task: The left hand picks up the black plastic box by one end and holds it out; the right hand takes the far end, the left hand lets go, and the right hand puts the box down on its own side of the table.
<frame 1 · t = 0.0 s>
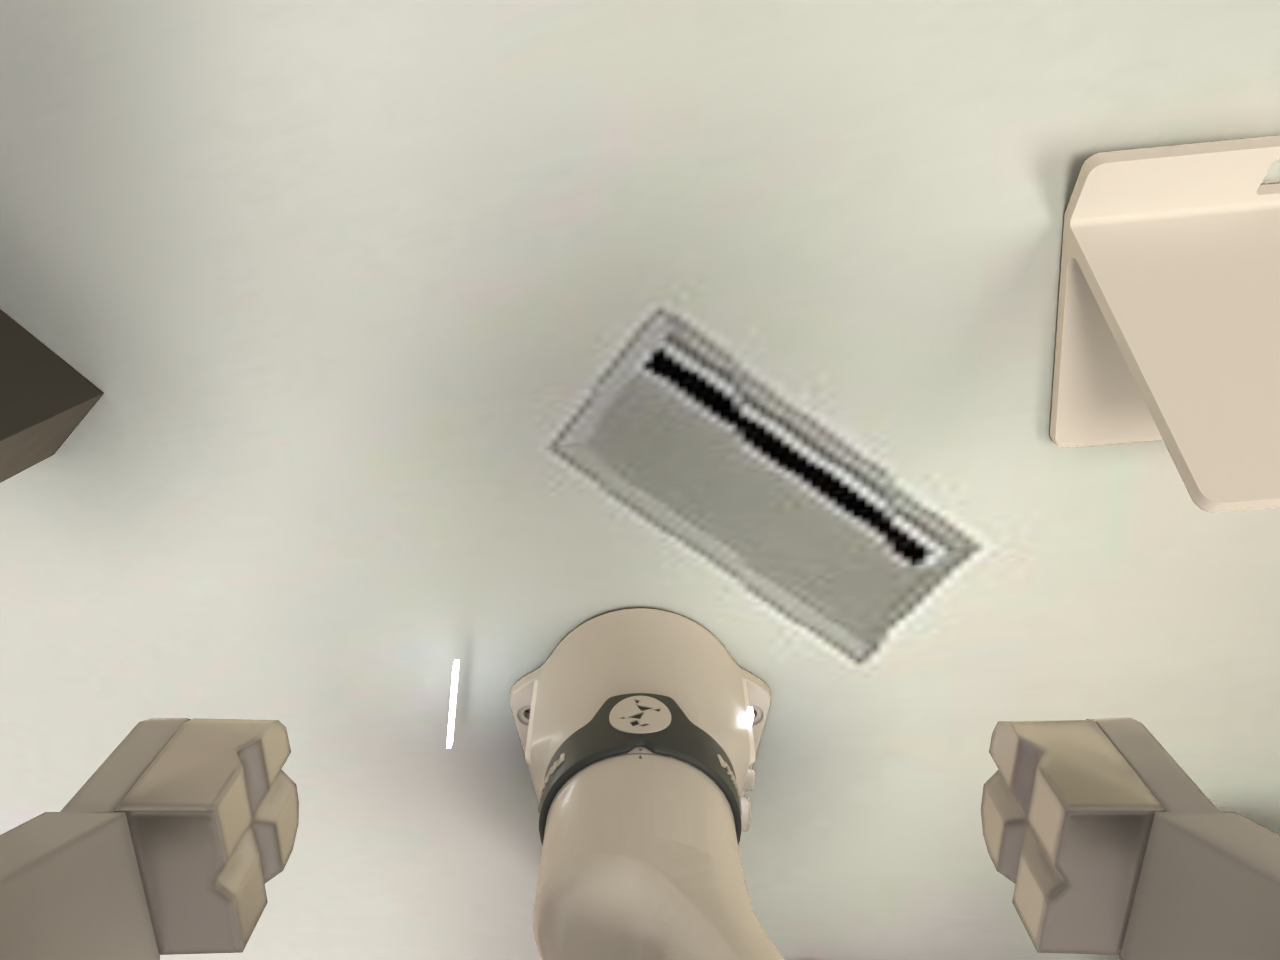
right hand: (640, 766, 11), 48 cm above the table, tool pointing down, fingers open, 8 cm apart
tablet stand: (1261, 288, 56), on the table
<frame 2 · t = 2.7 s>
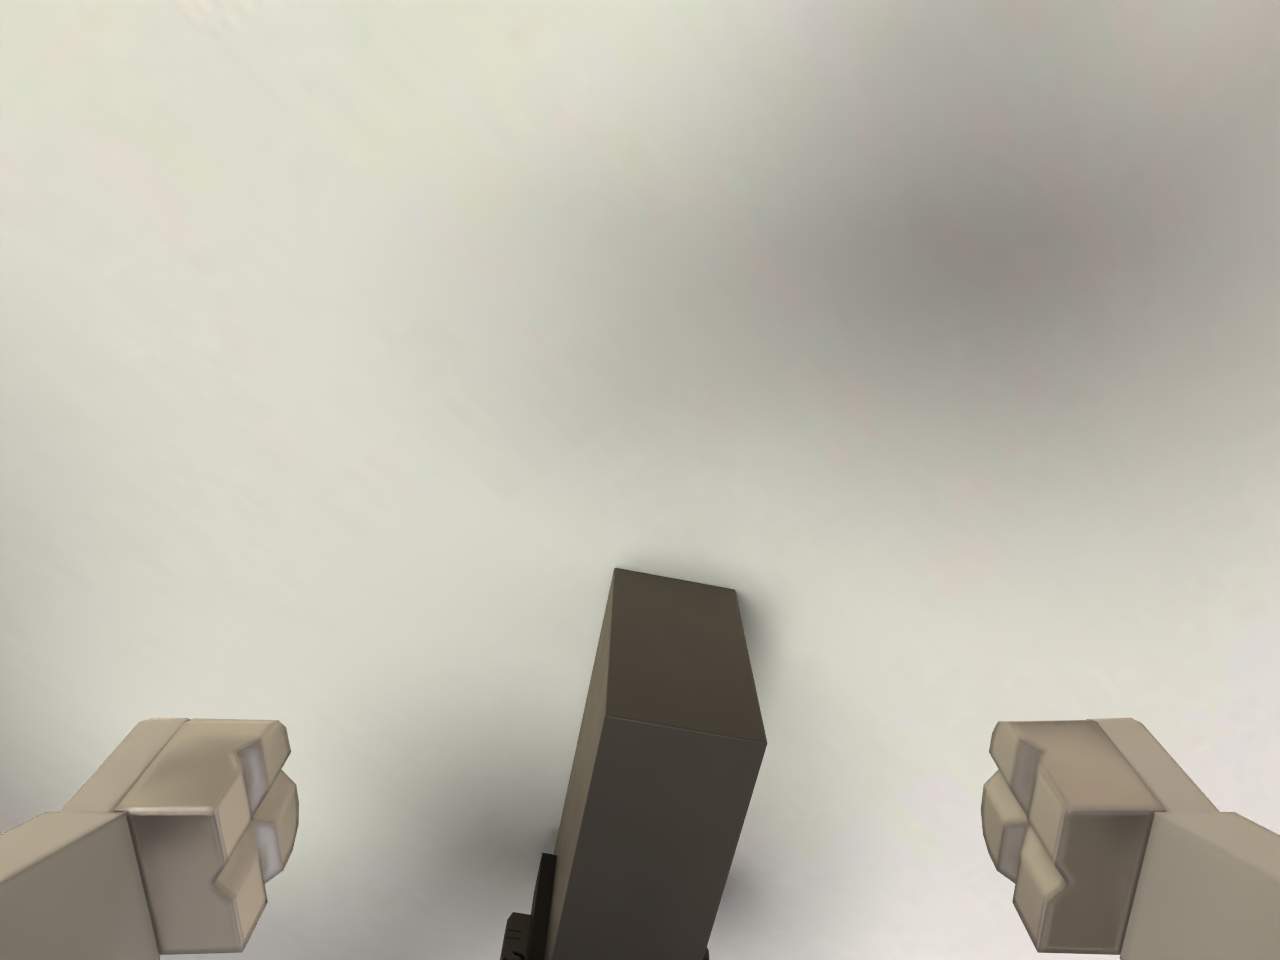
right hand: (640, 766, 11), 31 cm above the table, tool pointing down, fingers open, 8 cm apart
box: (634, 751, 47), on the table, touching left hand
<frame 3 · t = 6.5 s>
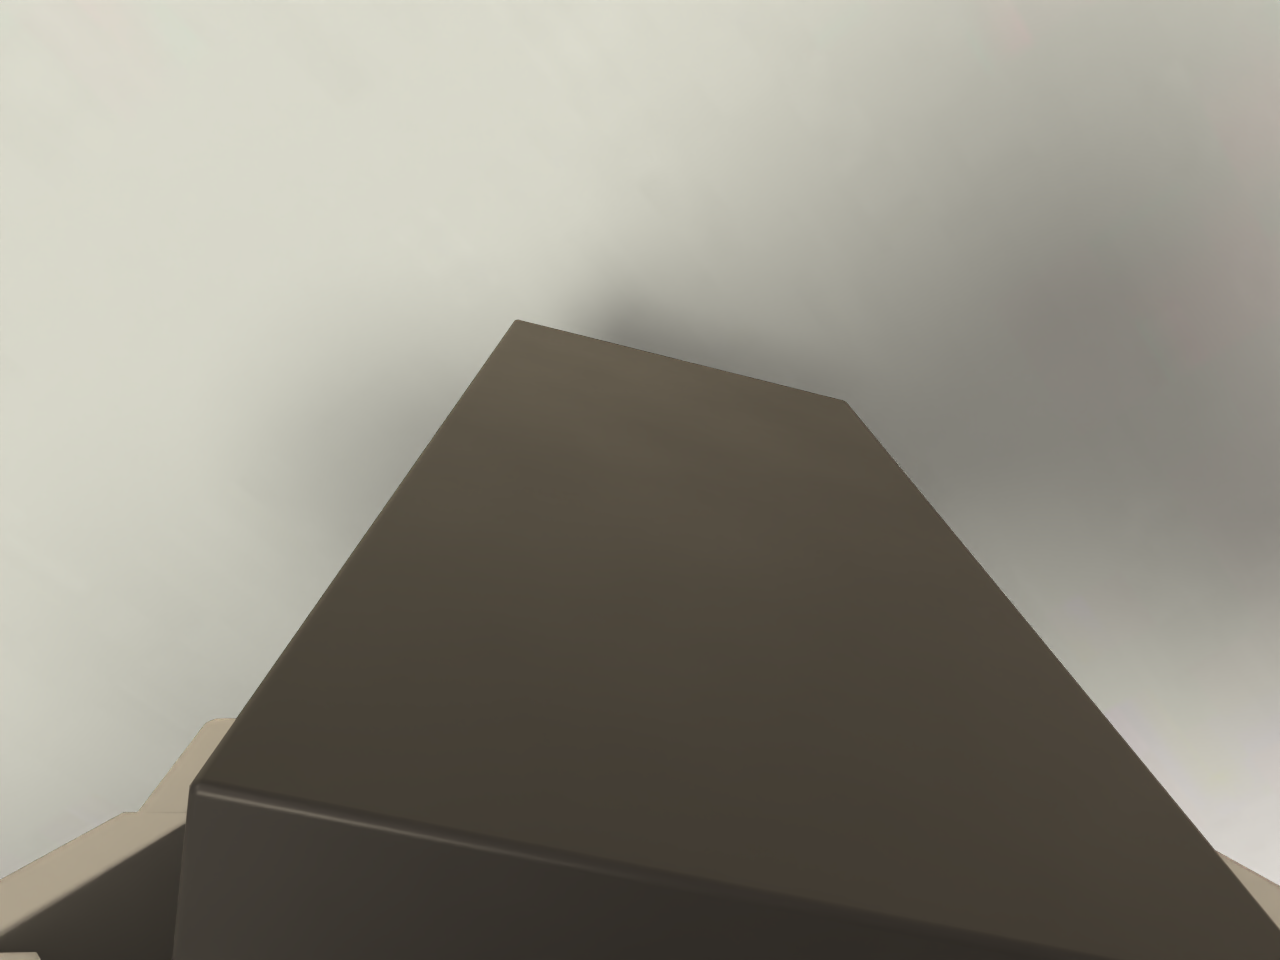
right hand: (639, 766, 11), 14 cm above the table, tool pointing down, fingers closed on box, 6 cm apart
box: (557, 821, 19), point 7 cm above the table, touching right hand, left hand
when the left hand's fingers open (10 cm above the table, at t = 7.7 s): box stays where it is, held by the right hand.
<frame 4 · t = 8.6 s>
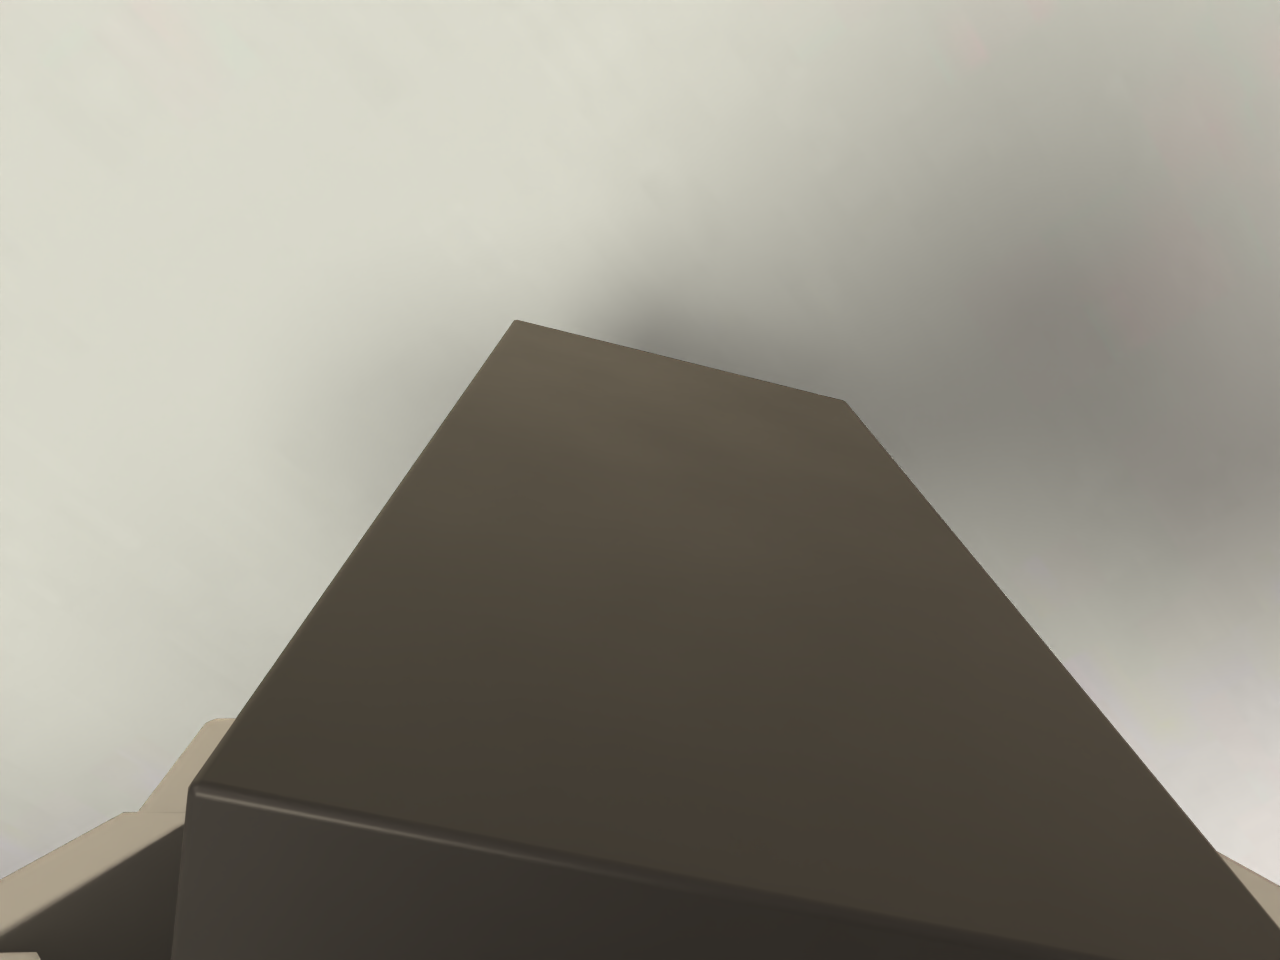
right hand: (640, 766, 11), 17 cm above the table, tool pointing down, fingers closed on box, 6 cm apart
box: (557, 822, 19), point 10 cm above the table, touching right hand
when the right hand's fingers open (8 cm above the table, at t = 12.4 s): box stays where it is, on the table.
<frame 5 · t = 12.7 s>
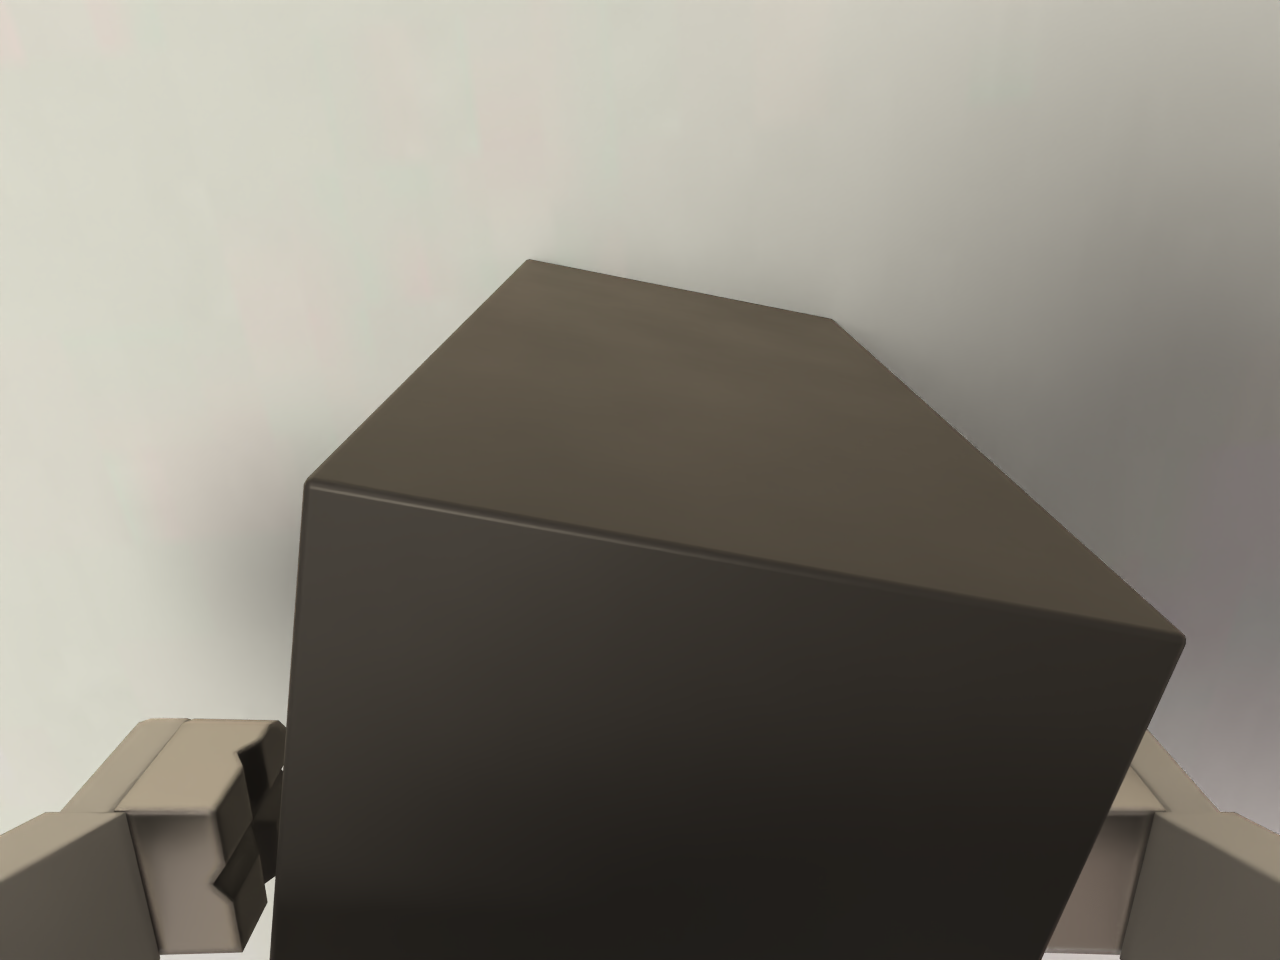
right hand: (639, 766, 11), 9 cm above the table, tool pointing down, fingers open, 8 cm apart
box: (589, 733, 21), on the table
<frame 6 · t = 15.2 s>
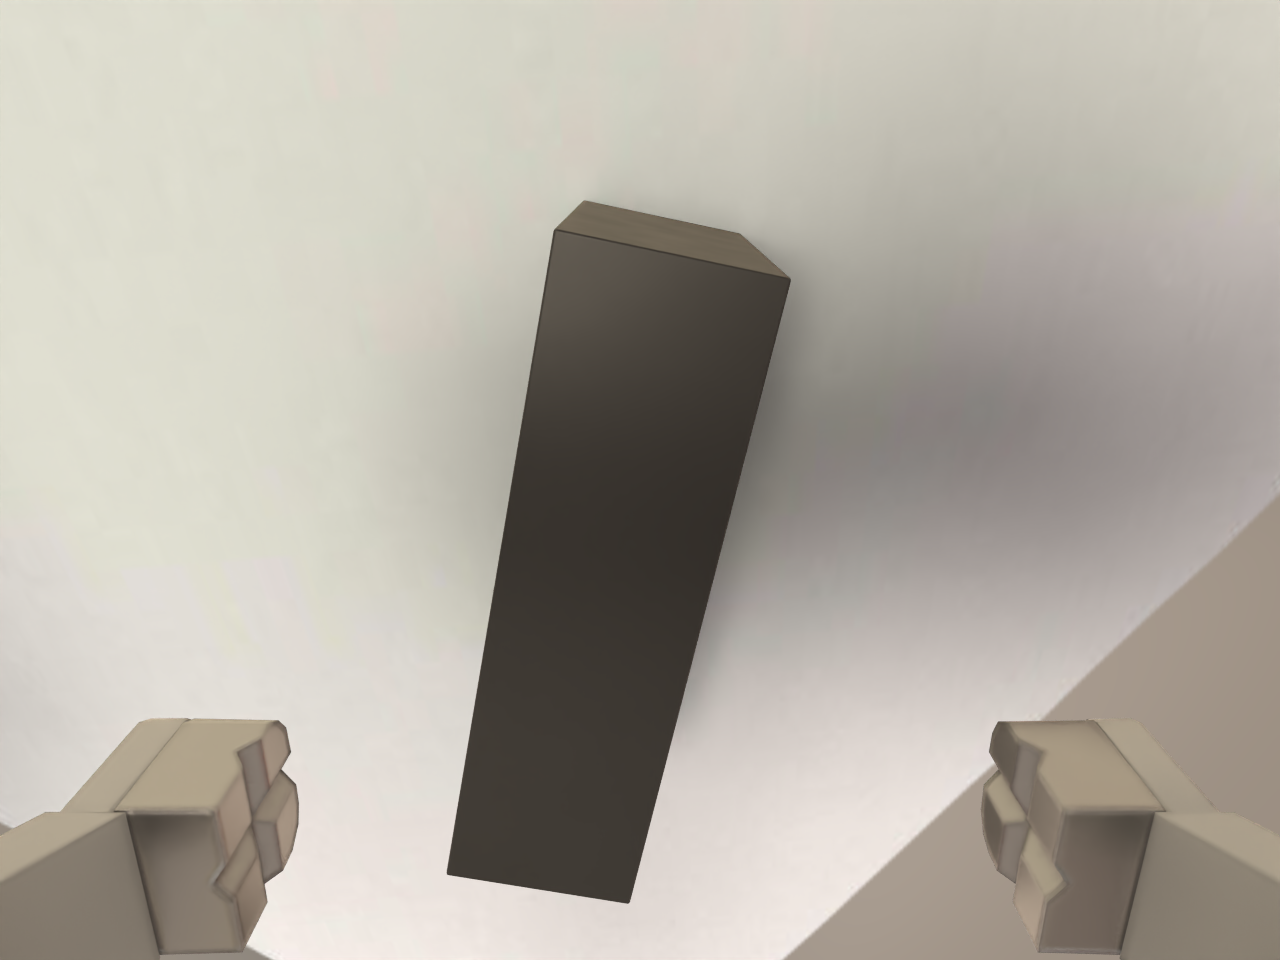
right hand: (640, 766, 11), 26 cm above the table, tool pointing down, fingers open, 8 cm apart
box: (610, 471, 37), on the table
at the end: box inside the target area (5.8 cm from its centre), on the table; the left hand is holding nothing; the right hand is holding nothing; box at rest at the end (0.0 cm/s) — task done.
